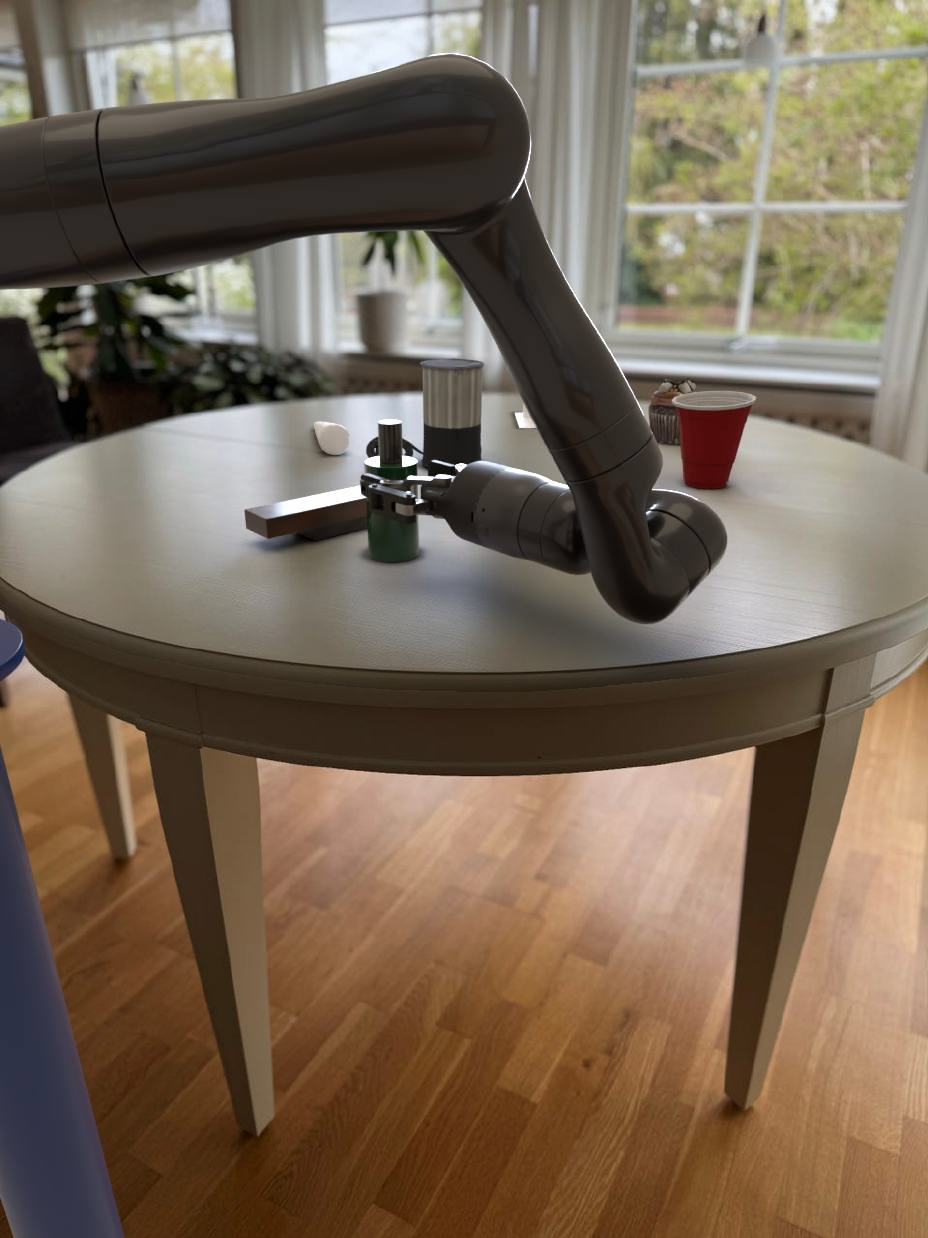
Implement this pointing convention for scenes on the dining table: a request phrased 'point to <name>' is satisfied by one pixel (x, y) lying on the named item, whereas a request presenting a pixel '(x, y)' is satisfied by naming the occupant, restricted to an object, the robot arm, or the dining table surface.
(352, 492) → the brush
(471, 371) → the milk frother
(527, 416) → the napkin holder
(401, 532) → the green bottle
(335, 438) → the unicorn horn
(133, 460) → the dining table surface
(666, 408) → the cupcake
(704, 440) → the plastic cup
